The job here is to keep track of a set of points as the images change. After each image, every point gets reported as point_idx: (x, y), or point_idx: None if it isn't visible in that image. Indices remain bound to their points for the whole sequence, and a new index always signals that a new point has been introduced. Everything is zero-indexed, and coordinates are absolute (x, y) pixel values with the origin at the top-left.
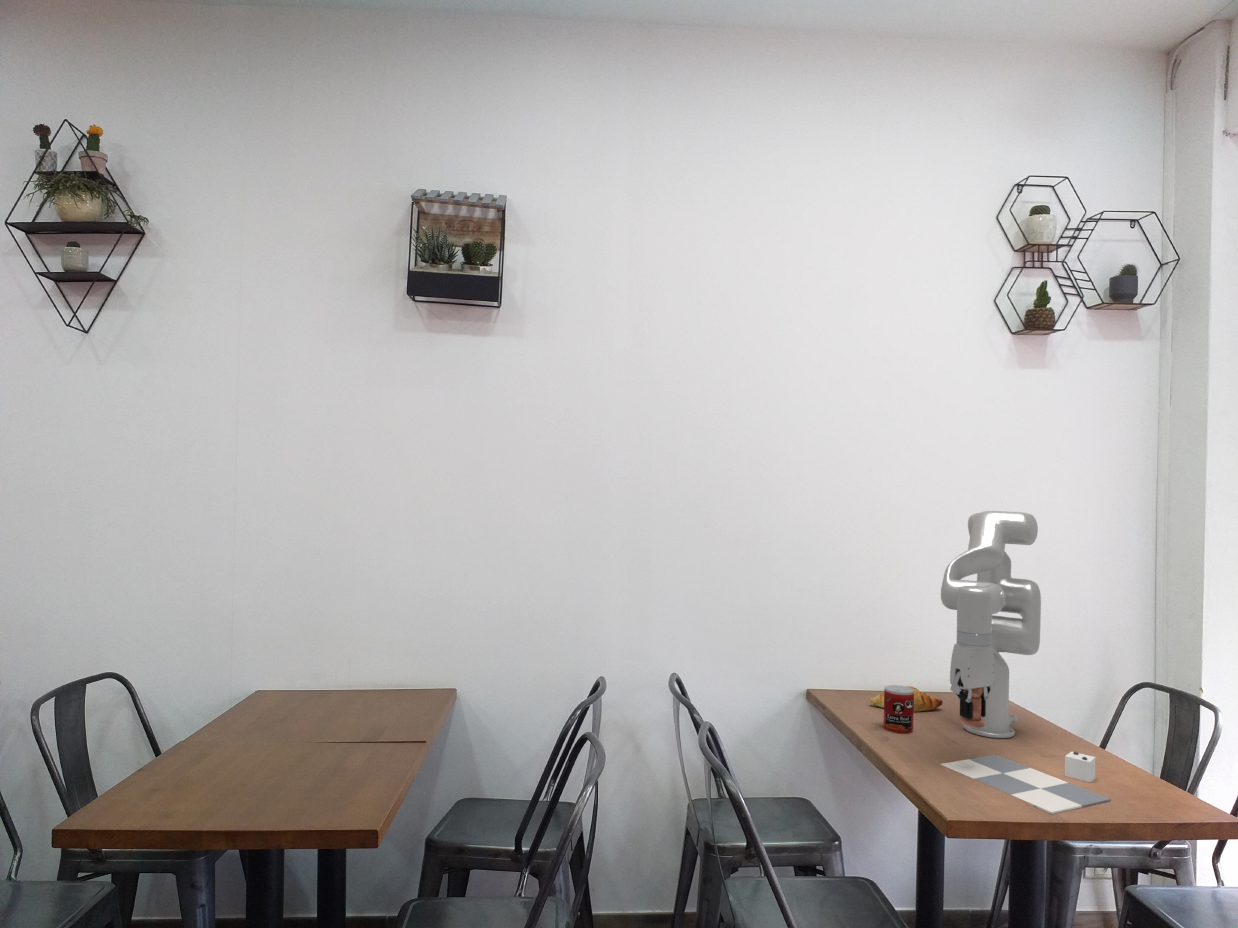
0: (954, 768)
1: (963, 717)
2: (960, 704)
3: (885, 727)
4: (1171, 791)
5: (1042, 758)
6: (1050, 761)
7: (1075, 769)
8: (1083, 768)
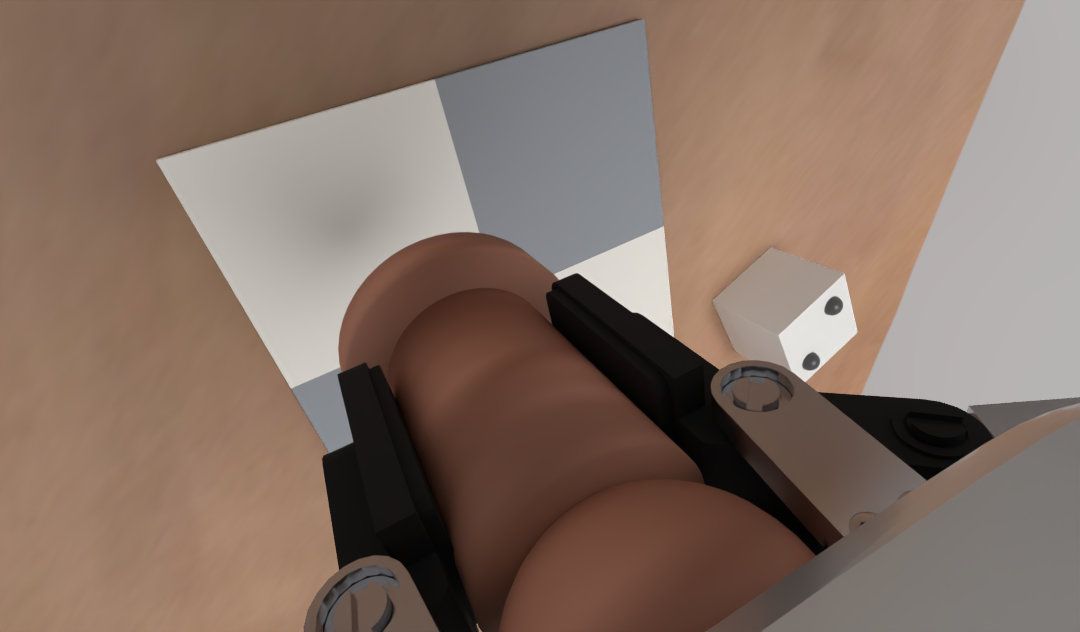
0: (239, 244)
1: (391, 334)
2: (363, 470)
3: None
4: (864, 374)
5: (802, 85)
6: (800, 126)
7: (752, 340)
8: (768, 361)
